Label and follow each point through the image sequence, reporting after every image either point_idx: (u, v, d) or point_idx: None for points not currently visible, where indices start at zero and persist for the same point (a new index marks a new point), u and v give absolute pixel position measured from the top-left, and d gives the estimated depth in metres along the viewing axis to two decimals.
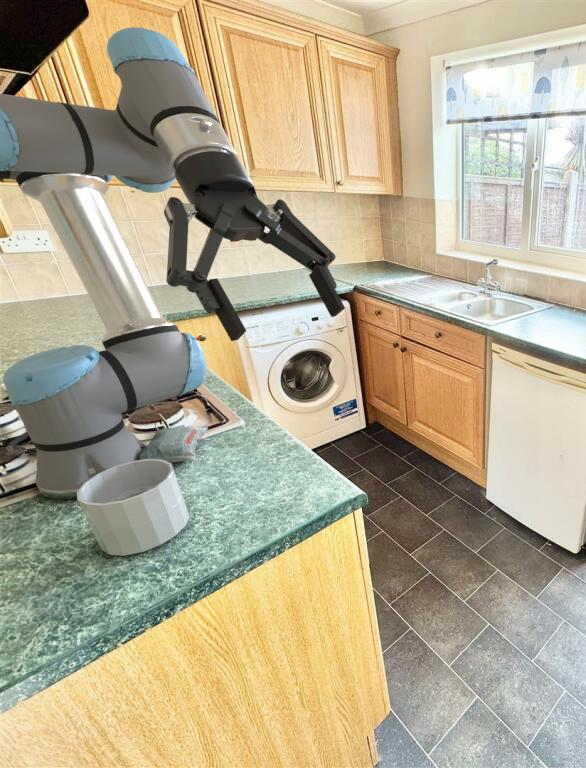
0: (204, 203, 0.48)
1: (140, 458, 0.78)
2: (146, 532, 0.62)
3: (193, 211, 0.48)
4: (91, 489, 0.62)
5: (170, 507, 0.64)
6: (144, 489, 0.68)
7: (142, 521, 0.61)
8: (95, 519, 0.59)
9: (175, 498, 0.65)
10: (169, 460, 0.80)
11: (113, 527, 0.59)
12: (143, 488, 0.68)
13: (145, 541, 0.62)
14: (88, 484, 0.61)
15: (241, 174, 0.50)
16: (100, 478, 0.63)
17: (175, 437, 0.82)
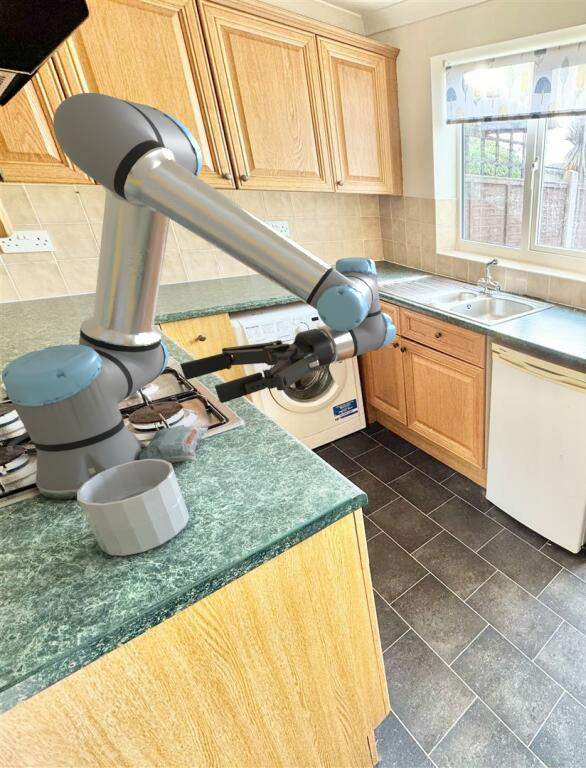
0: None
1: (140, 458, 0.78)
2: (146, 532, 0.62)
3: None
4: (91, 489, 0.62)
5: (170, 507, 0.64)
6: (144, 489, 0.68)
7: (142, 521, 0.61)
8: (95, 519, 0.59)
9: (175, 498, 0.65)
10: (169, 460, 0.80)
11: (113, 527, 0.59)
12: (143, 488, 0.68)
13: (145, 541, 0.62)
14: (88, 484, 0.61)
15: None
16: (100, 478, 0.63)
17: (175, 437, 0.82)
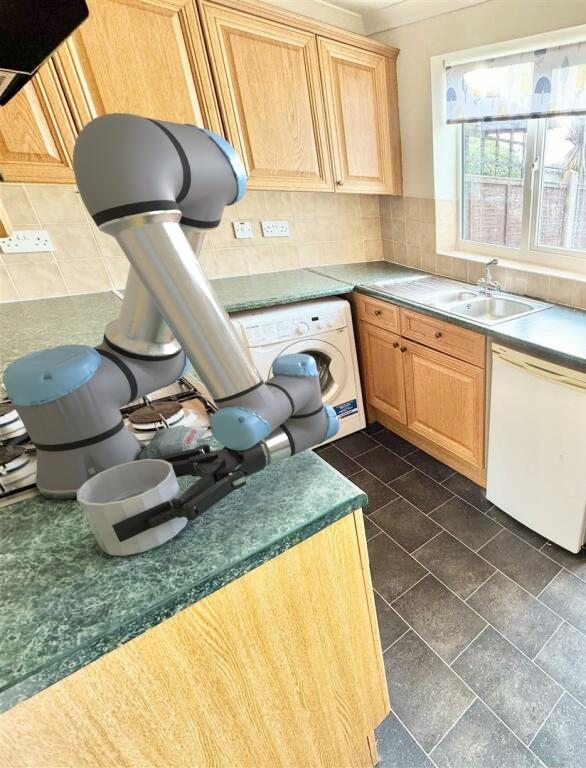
0: None
1: (140, 458, 0.78)
2: (146, 532, 0.62)
3: None
4: (91, 489, 0.62)
5: None
6: (144, 489, 0.68)
7: None
8: (95, 519, 0.59)
9: (175, 498, 0.65)
10: None
11: None
12: (143, 488, 0.68)
13: (145, 541, 0.62)
14: (88, 484, 0.61)
15: None
16: (100, 478, 0.63)
17: (175, 437, 0.82)
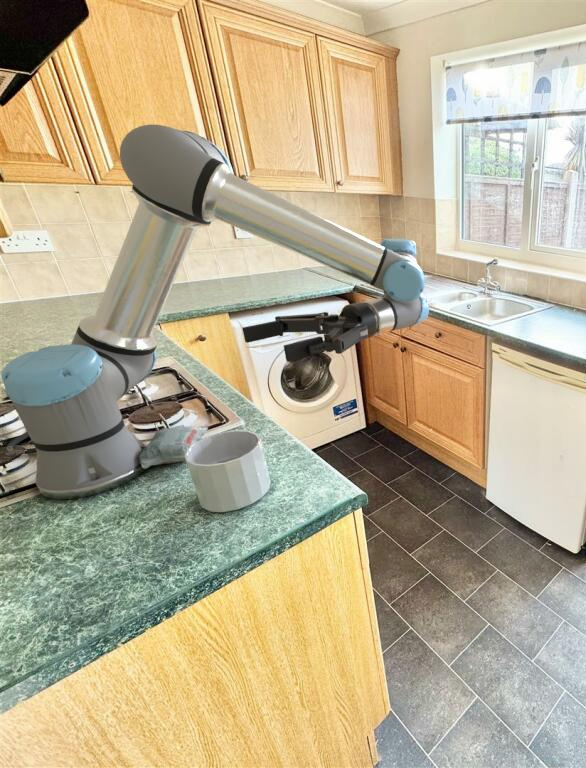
0: None
1: (140, 458, 0.78)
2: (241, 492, 0.71)
3: None
4: (193, 454, 0.71)
5: (259, 471, 0.73)
6: (232, 457, 0.76)
7: (239, 482, 0.70)
8: (201, 479, 0.68)
9: (263, 463, 0.74)
10: (169, 460, 0.80)
11: (216, 486, 0.68)
12: (231, 456, 0.77)
13: (240, 500, 0.71)
14: (191, 450, 0.70)
15: None
16: (199, 445, 0.72)
17: (175, 437, 0.82)
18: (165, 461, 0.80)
